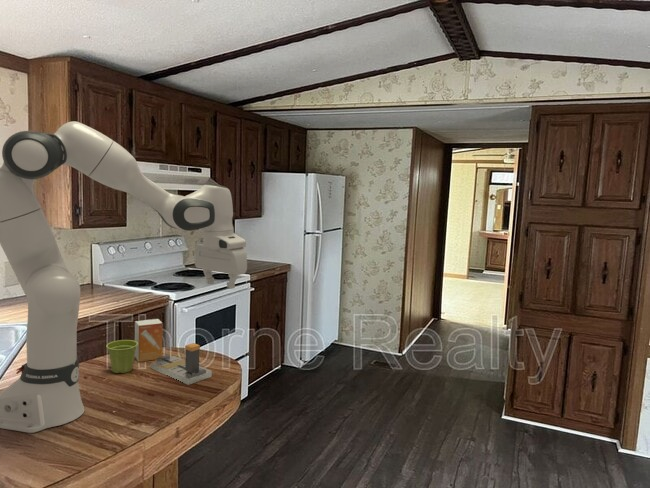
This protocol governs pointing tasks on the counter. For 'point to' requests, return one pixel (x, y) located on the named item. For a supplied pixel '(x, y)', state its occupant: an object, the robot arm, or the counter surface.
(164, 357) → the fader console
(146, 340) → the small box
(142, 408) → the counter surface
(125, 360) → the plant pot
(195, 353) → the fader knob
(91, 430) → the counter surface
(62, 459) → the counter surface
